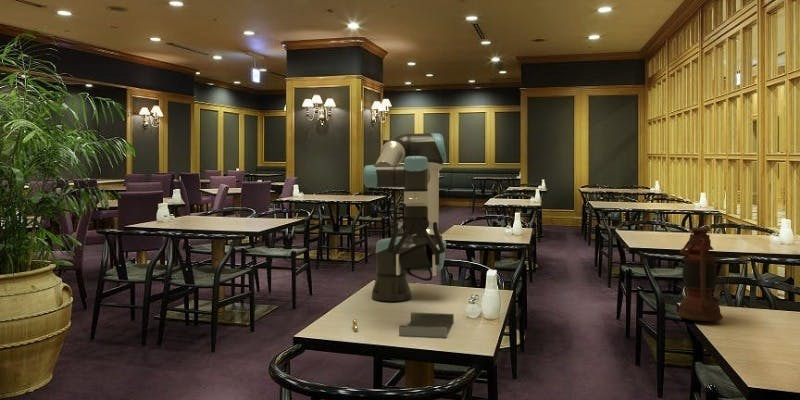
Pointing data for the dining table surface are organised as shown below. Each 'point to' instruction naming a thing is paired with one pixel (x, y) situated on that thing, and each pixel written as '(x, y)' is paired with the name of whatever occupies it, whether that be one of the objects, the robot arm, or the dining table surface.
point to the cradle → (428, 325)
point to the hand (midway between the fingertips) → (416, 275)
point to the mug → (417, 259)
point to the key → (355, 325)
